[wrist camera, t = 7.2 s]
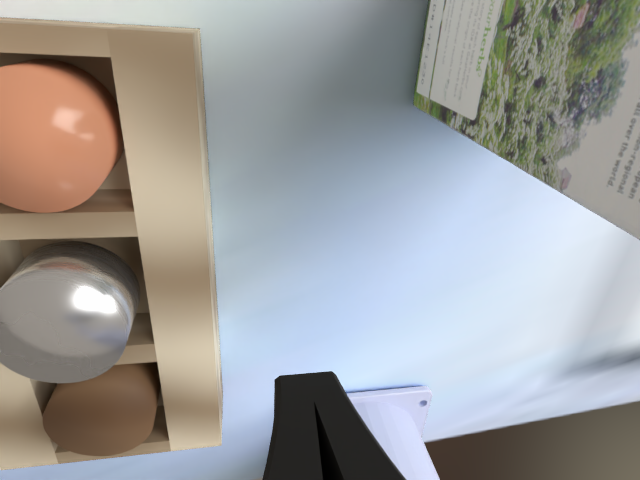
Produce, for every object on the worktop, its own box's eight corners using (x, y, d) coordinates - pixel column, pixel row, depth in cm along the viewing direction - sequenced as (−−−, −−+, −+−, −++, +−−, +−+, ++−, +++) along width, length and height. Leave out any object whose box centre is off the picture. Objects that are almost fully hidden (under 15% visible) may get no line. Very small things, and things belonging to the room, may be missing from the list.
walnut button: (166, 404, 20) (159, 450, 18) (74, 413, 20) (55, 461, 18) (157, 338, 19) (147, 380, 16) (54, 345, 18) (30, 390, 16)
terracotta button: (133, 183, 15) (117, 211, 13) (7, 184, 15) (-31, 213, 12) (115, 61, 13) (94, 71, 11) (-30, 55, 13) (-82, 65, 11)
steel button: (147, 331, 17) (134, 377, 15) (31, 338, 16) (1, 388, 14) (132, 239, 15) (115, 277, 13) (1, 242, 14) (-39, 283, 12)
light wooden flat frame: (222, 394, 22) (221, 445, 20) (30, 411, 21) (1, 470, 18) (200, 28, 14) (192, 33, 12) (-114, 10, 13) (-202, 11, 10)
